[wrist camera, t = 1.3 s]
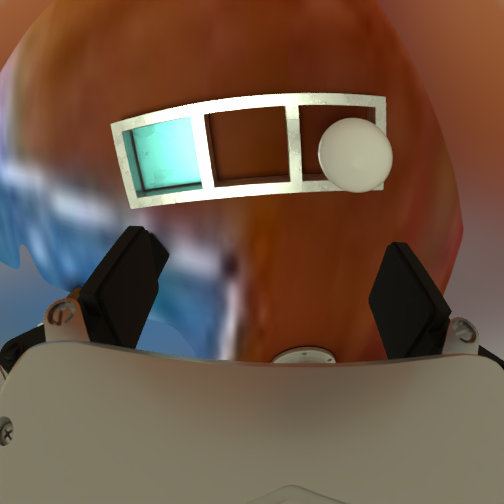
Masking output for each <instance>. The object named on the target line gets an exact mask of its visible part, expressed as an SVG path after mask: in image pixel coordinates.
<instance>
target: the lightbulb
mask: <svg viewBox="0 0 504 504" xmlns="http://www.w3.org/2000/svg"><path fill="white" fill-rule="evenodd" d="M318 158H319V163H320V166H321V168H322V171H323V172H324V174H325V176H326V177H327V178H328V179H329V180H330V181H331V182H332V183H333V184H334V185H336V186H337V187H339V188H341V189H343V190H345V191H349V192H354V193H361V192H367V191H370V190H373V189H375V188H376V187H378V186H379V185H381V184H382V183H383V182H384V181H385V179H386V178H387V176H388V175H389V173H390V170H391V167H392V161H393V154H392V148H391V145H390V143H389V140H388V138H387V137H386V135H385V134H384V133H383V131H382V130H381V129H380V128H379V127H377V126H376V125H375V124H373V123H371V122H369V121H367V120H364V119H360V118H345V119H342V120H339V121H337V122H335V123H333V124H332V125H331V126H330V127H328V128H327V130H326V131H325V132H324V134H323V135H322V137H321V140H320V142H319V147H318Z"/></svg>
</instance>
